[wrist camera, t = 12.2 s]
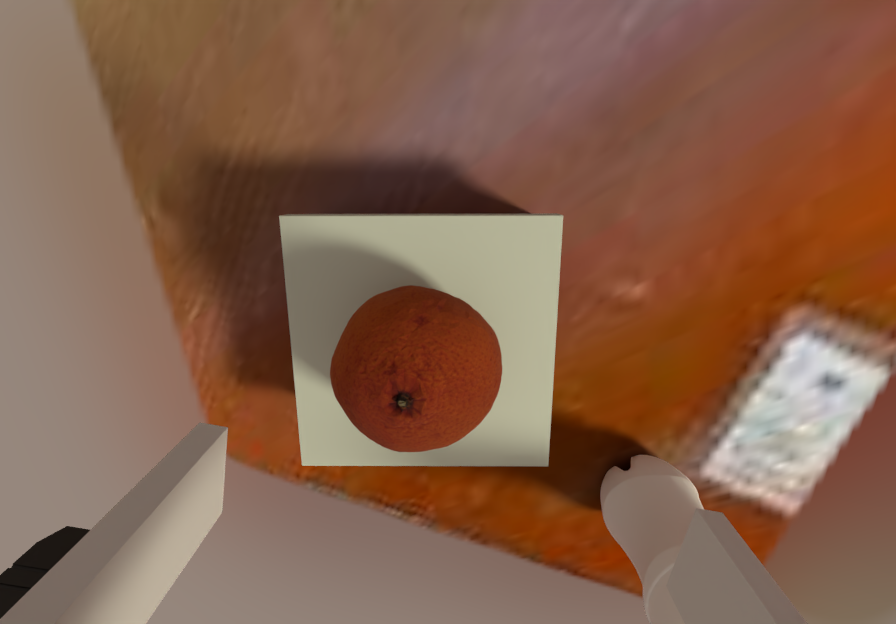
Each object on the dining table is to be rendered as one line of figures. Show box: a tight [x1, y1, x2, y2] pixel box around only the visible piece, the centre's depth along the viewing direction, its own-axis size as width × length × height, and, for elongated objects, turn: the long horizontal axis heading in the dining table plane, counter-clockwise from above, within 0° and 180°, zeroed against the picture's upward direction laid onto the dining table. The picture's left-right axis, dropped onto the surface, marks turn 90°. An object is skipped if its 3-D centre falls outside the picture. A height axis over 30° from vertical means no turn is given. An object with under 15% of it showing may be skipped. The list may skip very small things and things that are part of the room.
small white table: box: [279, 214, 563, 466], centre depth 33 cm, size 16×16×7 cm
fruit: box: [330, 285, 502, 452], centre depth 26 cm, size 9×9×8 cm
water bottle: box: [600, 455, 704, 624], centre depth 28 cm, size 7×7×25 cm
